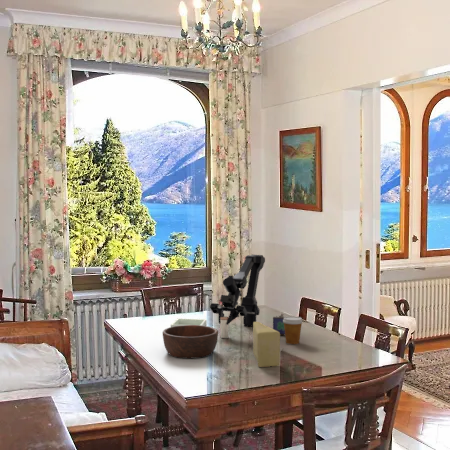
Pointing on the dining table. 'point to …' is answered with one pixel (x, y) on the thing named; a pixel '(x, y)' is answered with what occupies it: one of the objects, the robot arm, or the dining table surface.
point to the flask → (279, 324)
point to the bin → (189, 322)
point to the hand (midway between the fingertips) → (223, 323)
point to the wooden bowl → (190, 341)
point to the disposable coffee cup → (292, 329)
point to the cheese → (266, 345)
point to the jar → (223, 327)
